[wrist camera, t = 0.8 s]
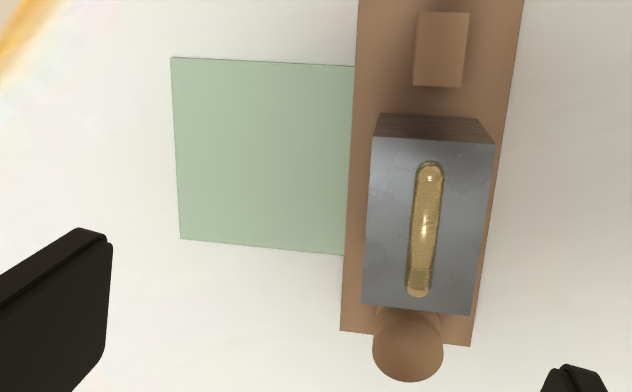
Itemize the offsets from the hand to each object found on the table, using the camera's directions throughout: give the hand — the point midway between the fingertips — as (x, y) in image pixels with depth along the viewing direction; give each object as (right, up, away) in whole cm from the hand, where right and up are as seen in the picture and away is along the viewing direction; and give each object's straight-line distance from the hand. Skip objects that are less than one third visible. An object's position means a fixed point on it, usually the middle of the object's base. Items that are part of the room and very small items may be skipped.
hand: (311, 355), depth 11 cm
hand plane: (+6, +5, +21) cm, 22 cm away
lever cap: (+6, +4, +17) cm, 19 cm away
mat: (-3, +6, +22) cm, 23 cm away
